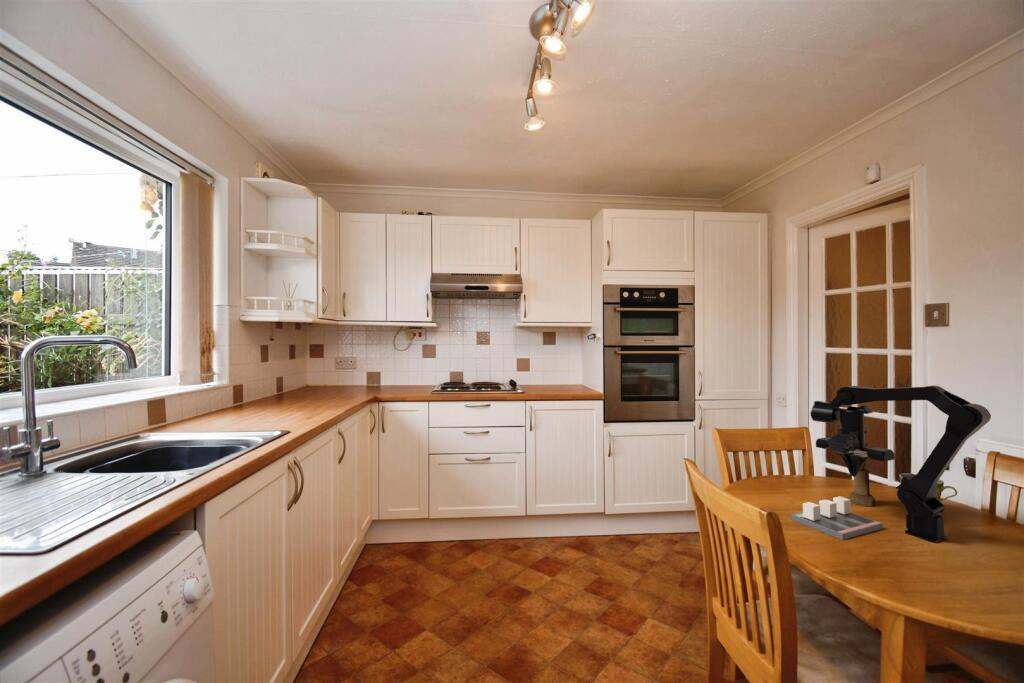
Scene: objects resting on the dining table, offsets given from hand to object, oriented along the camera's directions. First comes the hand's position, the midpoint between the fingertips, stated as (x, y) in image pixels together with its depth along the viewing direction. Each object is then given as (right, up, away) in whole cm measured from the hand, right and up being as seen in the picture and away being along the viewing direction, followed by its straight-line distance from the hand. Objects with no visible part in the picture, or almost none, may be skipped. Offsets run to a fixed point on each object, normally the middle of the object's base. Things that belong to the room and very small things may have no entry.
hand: (853, 476), depth 125 cm
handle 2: (-12, -10, -4) cm, 16 cm away
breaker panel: (-11, -12, -6) cm, 17 cm away
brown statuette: (+11, -12, +9) cm, 19 cm away
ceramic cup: (+25, -12, +2) cm, 28 cm away
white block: (-5, -10, -2) cm, 12 cm away
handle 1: (-18, -10, -6) cm, 21 cm away
